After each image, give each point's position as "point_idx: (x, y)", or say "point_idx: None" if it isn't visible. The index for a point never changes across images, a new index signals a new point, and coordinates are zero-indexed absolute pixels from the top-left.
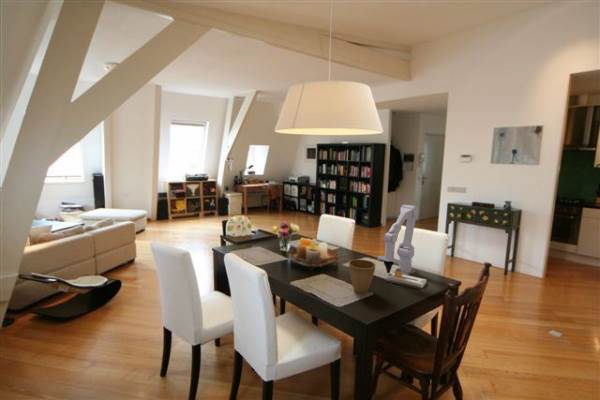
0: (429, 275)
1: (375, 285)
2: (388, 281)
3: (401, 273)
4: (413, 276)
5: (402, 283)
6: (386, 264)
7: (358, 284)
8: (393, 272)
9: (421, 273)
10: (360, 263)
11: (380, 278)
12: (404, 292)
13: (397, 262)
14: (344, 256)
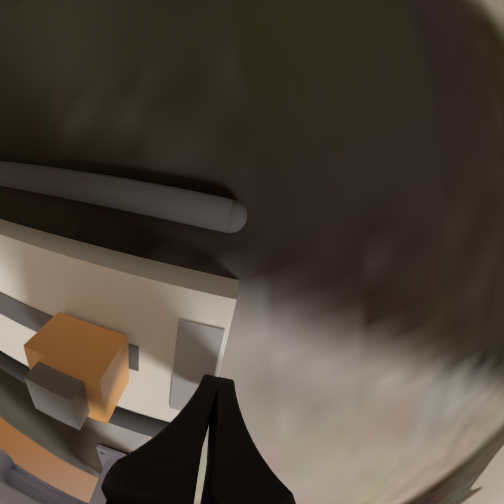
0: (13, 415)
1: (339, 29)
2: (188, 190)
3: (36, 343)
4: None
5: (31, 170)
6: (233, 480)
7: None
8: None
9: (49, 438)
10: None
11: (307, 282)
12: (39, 22)
13: (29, 487)
14: (474, 474)
